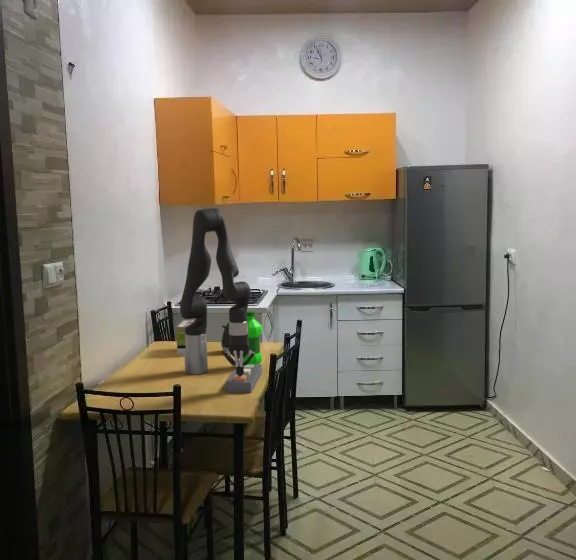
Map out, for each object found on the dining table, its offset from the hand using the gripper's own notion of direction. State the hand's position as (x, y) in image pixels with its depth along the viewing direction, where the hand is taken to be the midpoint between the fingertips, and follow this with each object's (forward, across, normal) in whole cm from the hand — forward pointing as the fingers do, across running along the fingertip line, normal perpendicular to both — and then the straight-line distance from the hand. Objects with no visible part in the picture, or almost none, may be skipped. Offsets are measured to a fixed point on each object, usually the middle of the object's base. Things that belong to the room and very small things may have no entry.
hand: (240, 375), depth 239 cm
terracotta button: (+4, 0, 0) cm, 4 cm away
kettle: (+6, +16, -57) cm, 60 cm away
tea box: (+6, +37, -57) cm, 68 cm away
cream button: (+4, 0, -9) cm, 10 cm away
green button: (+4, 0, -18) cm, 19 cm away
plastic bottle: (+6, +2, -33) cm, 34 cm away
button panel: (+6, 0, -9) cm, 11 cm away
